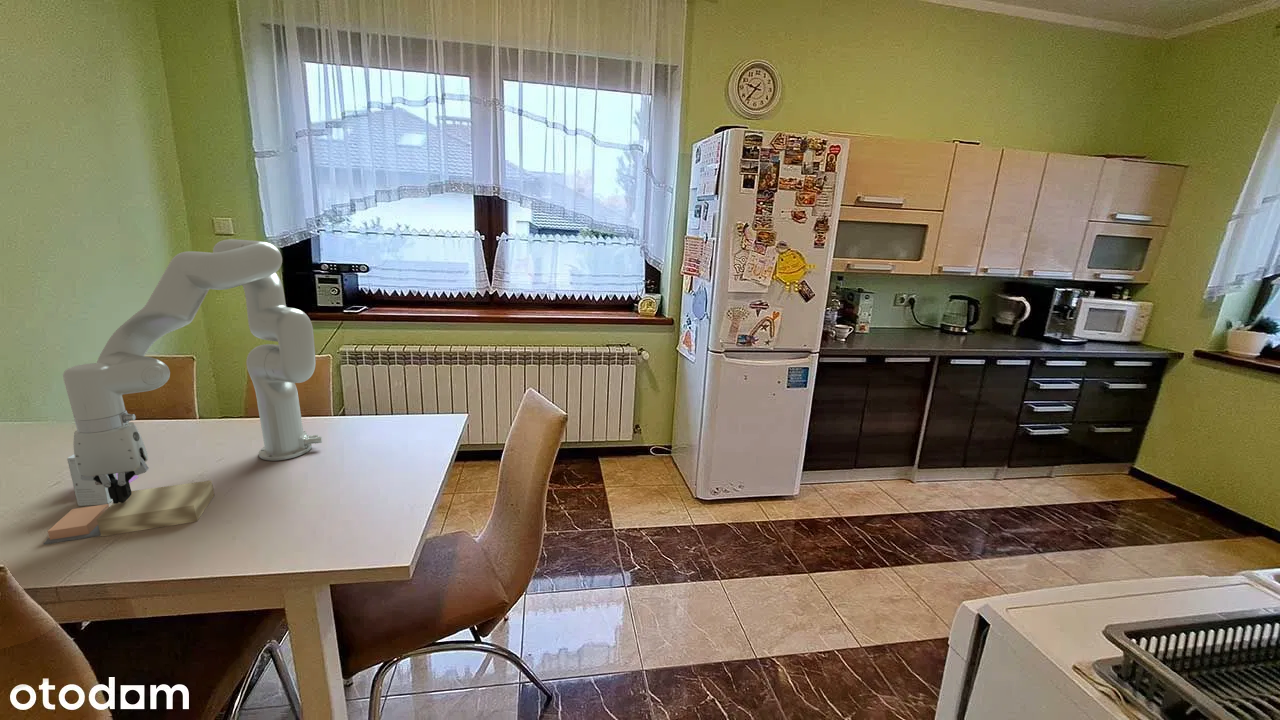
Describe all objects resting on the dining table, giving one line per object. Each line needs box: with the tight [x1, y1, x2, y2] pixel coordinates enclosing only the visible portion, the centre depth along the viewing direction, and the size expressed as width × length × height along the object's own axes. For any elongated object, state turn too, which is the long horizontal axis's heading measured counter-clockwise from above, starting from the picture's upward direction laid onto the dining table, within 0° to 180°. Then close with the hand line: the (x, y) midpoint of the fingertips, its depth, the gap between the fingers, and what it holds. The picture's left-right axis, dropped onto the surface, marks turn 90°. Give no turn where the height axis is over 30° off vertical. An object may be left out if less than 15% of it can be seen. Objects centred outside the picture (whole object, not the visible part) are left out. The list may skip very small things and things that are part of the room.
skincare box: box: [66, 454, 117, 507], centre depth 119 cm, size 6×4×12 cm
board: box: [97, 480, 215, 537], centre depth 116 cm, size 16×12×4 cm
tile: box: [47, 503, 110, 540], centre depth 111 cm, size 6×9×2 cm, turn 24°
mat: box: [43, 525, 101, 545], centre depth 111 cm, size 9×11×1 cm
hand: (122, 500), depth 113 cm, fingers closed
